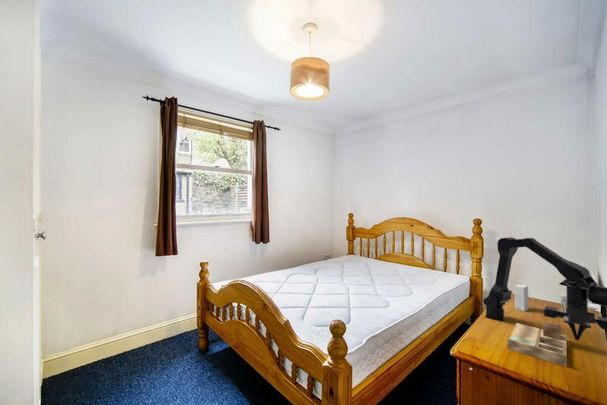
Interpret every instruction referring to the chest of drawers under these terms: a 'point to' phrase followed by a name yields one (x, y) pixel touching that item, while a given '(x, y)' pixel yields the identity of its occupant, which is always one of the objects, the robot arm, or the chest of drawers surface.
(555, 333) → the walnut block
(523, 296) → the skincare box
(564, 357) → the board
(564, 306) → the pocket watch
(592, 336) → the chest of drawers surface
